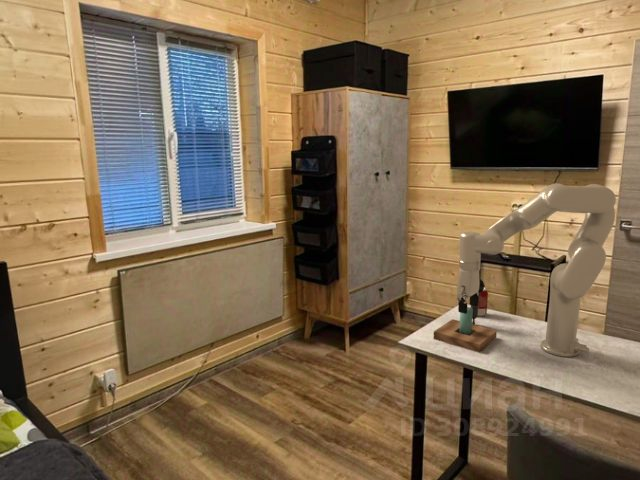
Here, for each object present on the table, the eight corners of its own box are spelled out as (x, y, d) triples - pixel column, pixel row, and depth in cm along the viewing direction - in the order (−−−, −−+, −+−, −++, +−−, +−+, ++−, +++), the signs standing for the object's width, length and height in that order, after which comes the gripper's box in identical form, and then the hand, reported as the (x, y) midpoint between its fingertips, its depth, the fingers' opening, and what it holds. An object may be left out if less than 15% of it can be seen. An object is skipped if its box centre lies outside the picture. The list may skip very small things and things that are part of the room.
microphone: (463, 321, 191) (466, 275, 186) (480, 321, 190) (483, 275, 185) (466, 327, 184) (469, 280, 180) (483, 328, 183) (487, 280, 179)
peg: (472, 338, 174) (474, 308, 172) (467, 341, 171) (469, 311, 168) (461, 335, 177) (463, 305, 174) (456, 338, 174) (458, 309, 171)
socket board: (496, 338, 174) (496, 330, 173) (479, 352, 162) (479, 344, 162) (452, 326, 186) (452, 319, 185) (433, 338, 174) (433, 331, 173)
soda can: (487, 318, 194) (489, 291, 191) (471, 317, 195) (472, 290, 192) (485, 312, 200) (487, 286, 198) (469, 311, 201) (470, 285, 199)
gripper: (469, 259, 176) (468, 300, 180) (449, 269, 164) (448, 313, 167) (488, 261, 172) (487, 304, 175) (469, 272, 159) (468, 318, 162)
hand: (468, 309), depth 171 cm, fingers open, 9 cm apart
